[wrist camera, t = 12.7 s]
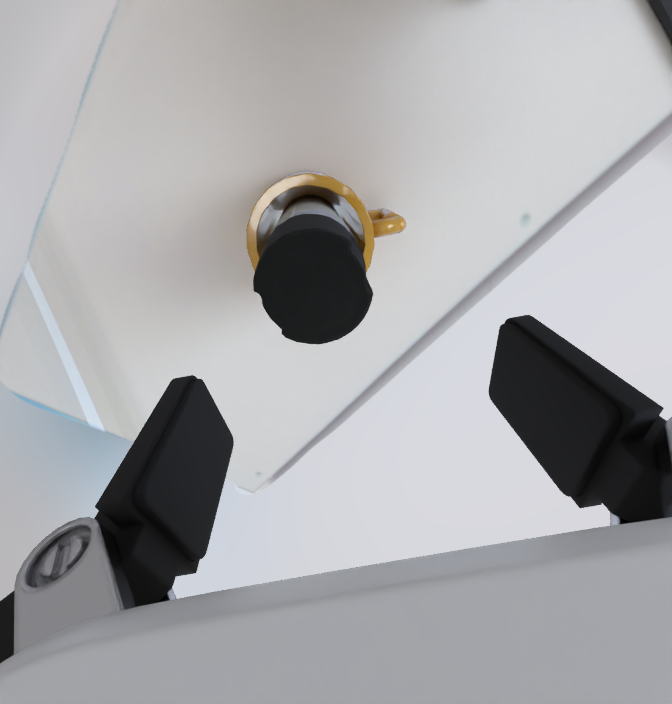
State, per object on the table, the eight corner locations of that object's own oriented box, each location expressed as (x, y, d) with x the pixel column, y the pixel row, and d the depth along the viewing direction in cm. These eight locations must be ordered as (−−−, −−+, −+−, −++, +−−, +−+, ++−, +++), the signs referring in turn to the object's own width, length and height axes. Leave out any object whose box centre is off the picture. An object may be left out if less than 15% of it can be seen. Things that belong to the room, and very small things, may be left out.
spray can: (297, 268, 35) (291, 365, 18) (267, 210, 31) (224, 264, 14) (349, 243, 34) (394, 320, 17) (324, 180, 30) (349, 201, 13)
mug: (276, 280, 36) (268, 315, 28) (248, 182, 30) (226, 189, 22) (388, 258, 36) (413, 286, 27) (380, 155, 30) (410, 151, 22)
